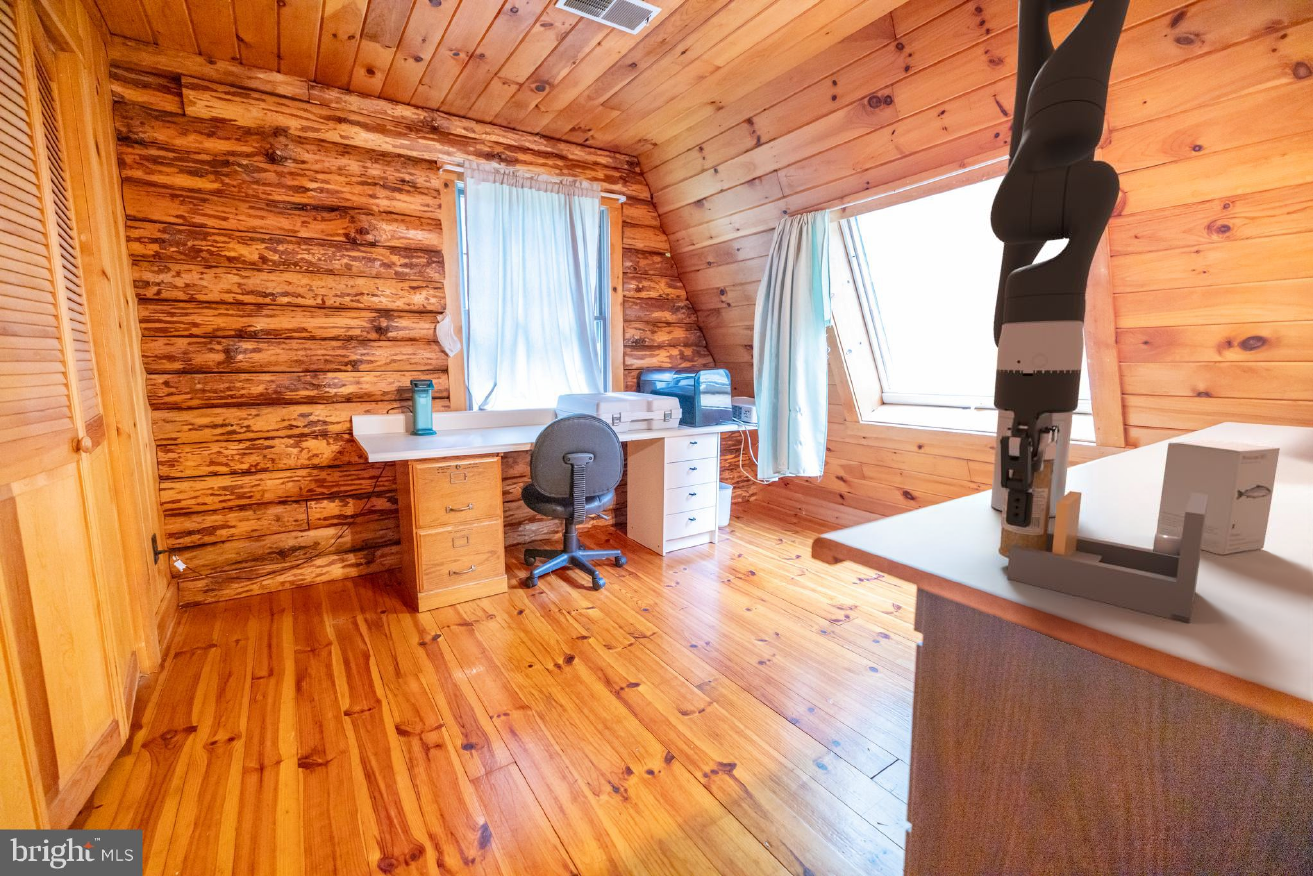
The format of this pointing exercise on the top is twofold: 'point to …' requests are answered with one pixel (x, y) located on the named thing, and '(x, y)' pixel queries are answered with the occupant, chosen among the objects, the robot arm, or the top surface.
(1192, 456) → the supplement box
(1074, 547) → the block
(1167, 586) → the lane
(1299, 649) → the top surface
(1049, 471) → the sprinkles bottle
